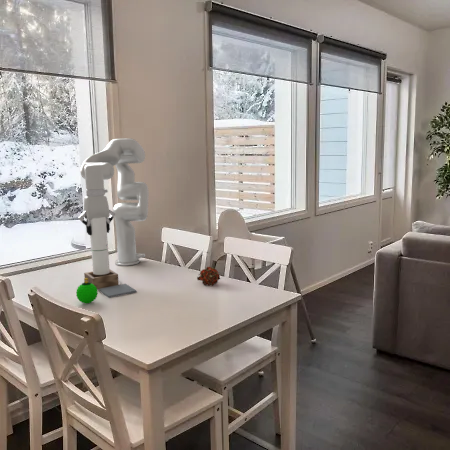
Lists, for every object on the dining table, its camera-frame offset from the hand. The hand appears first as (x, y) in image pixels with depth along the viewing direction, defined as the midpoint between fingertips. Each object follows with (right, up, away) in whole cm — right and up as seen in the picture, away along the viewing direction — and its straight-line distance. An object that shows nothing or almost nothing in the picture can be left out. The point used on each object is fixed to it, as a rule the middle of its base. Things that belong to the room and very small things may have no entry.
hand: (98, 233), depth 208 cm
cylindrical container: (0, -18, +3) cm, 18 cm away
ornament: (+1, -27, -21) cm, 34 cm away
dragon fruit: (+48, -23, 0) cm, 53 cm away
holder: (0, -23, +4) cm, 23 cm away
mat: (+10, -24, -7) cm, 27 cm away
